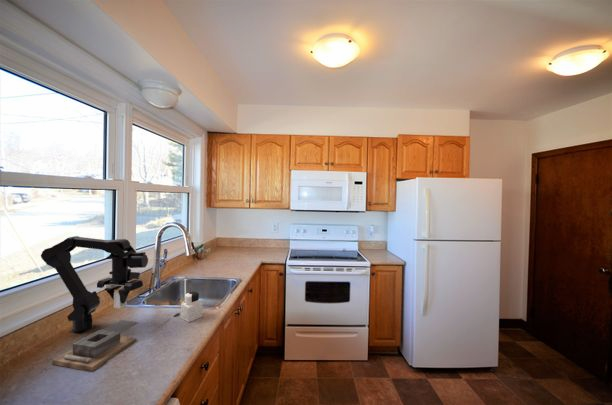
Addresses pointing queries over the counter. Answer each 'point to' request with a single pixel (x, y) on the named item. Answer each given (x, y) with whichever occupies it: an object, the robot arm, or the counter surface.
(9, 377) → the counter surface
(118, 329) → the key mat
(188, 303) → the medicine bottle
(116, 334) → the stand
